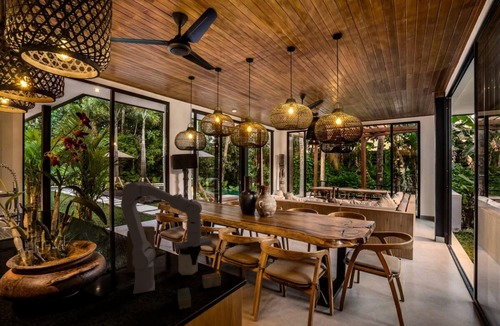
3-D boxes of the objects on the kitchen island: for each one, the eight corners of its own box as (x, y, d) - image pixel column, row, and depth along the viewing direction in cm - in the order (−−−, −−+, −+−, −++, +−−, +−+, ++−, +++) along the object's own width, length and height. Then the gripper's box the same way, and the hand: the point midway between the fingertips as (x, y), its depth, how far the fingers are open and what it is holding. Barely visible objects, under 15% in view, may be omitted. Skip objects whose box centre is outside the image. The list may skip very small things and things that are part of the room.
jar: (177, 275, 116) (177, 249, 116) (179, 268, 124) (179, 244, 124) (197, 274, 117) (197, 248, 117) (198, 267, 125) (198, 243, 125)
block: (146, 273, 118) (147, 231, 118) (125, 273, 118) (126, 230, 118) (155, 265, 128) (155, 225, 128) (135, 265, 128) (136, 225, 128)
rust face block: (202, 275, 108) (218, 272, 111) (202, 284, 108) (218, 281, 111) (204, 279, 104) (220, 276, 107) (204, 288, 104) (220, 285, 107)
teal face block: (177, 289, 96) (179, 298, 89) (188, 287, 97) (190, 296, 91) (177, 299, 96) (179, 309, 89) (188, 297, 97) (190, 307, 91)
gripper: (176, 235, 99) (176, 270, 98) (213, 232, 104) (213, 265, 104) (175, 231, 105) (175, 263, 105) (209, 228, 110) (209, 259, 110)
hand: (193, 264), depth 105 cm, fingers closed
